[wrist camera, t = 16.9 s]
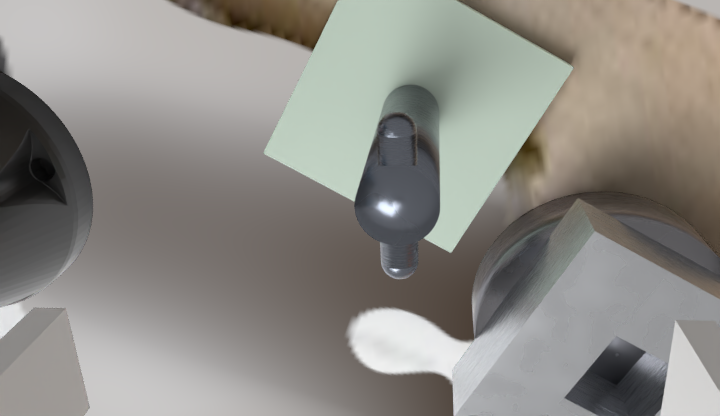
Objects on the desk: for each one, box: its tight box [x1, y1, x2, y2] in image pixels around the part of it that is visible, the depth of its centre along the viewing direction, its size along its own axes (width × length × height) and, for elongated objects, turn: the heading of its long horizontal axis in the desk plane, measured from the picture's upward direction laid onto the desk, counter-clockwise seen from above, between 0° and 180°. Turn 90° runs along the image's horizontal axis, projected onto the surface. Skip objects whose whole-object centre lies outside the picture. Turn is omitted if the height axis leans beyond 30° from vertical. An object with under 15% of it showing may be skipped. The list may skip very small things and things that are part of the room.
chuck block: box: [452, 192, 720, 416], centre depth 36 cm, size 14×14×8 cm
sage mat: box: [264, 0, 574, 253], centre depth 36 cm, size 12×12×1 cm
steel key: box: [355, 85, 440, 279], centre depth 29 cm, size 6×3×13 cm, turn 2°
